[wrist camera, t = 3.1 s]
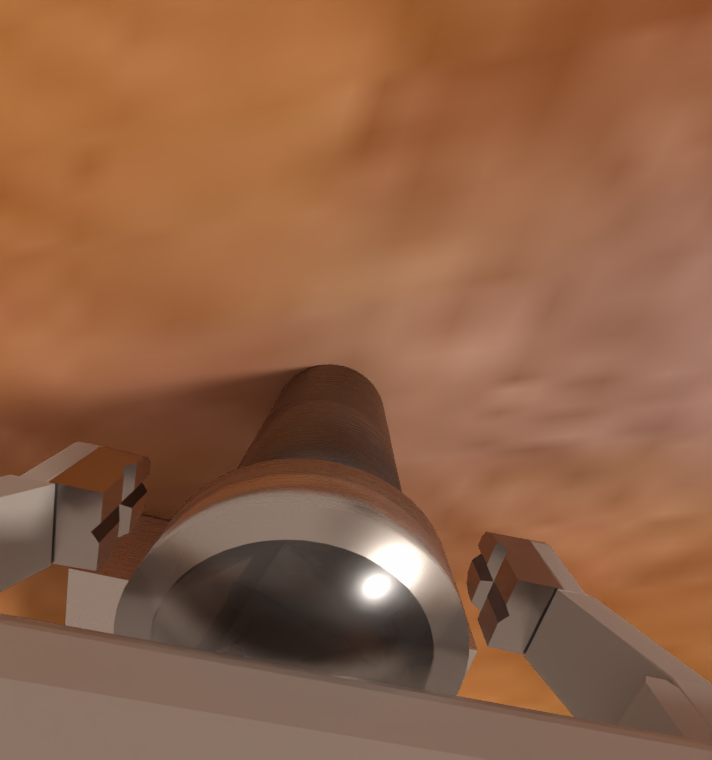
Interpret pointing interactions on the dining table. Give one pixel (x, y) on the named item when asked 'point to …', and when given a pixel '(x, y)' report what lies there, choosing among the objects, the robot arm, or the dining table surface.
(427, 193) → the dining table surface
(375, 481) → the flashlight
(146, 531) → the jig
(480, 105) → the dining table surface
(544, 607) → the robot arm
